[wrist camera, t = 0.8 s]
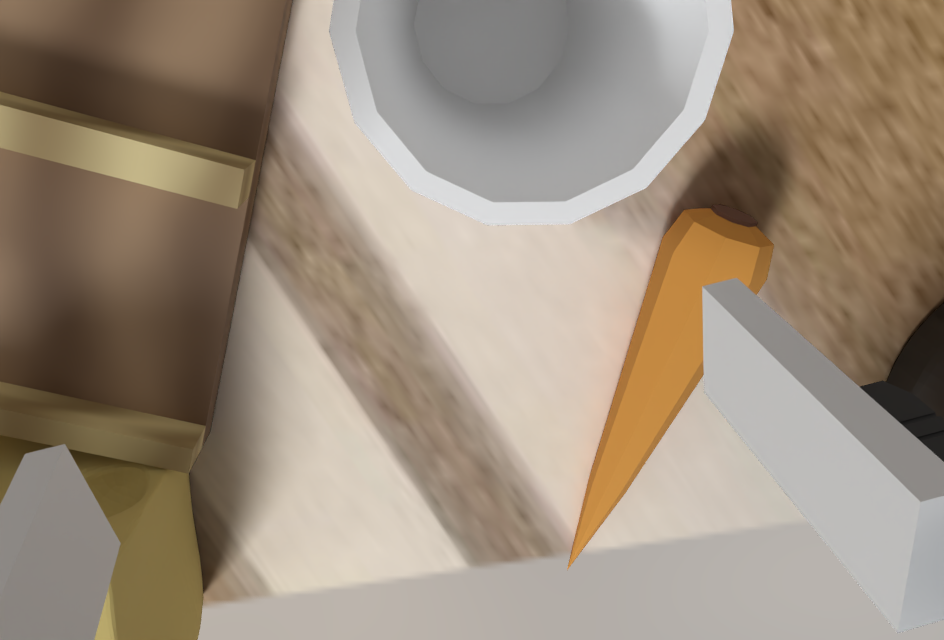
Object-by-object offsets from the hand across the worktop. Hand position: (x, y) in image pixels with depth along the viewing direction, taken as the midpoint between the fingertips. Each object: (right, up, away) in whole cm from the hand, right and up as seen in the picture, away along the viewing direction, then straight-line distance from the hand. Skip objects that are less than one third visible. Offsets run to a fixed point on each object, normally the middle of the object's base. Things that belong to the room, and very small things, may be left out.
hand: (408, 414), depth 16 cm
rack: (-14, +10, +15) cm, 22 cm away
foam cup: (+2, +14, +14) cm, 20 cm away
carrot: (+9, -2, +21) cm, 23 cm away
